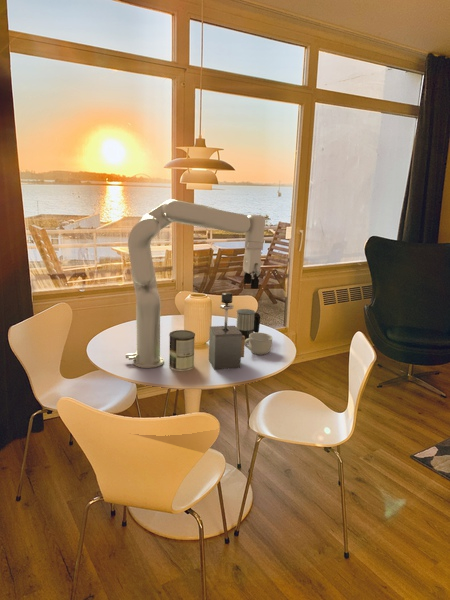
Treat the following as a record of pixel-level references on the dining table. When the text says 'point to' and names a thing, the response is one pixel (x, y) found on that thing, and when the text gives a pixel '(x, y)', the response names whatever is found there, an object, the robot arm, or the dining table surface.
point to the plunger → (226, 306)
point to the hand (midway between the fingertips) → (250, 286)
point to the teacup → (259, 343)
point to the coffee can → (181, 350)
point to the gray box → (226, 347)
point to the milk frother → (247, 322)
